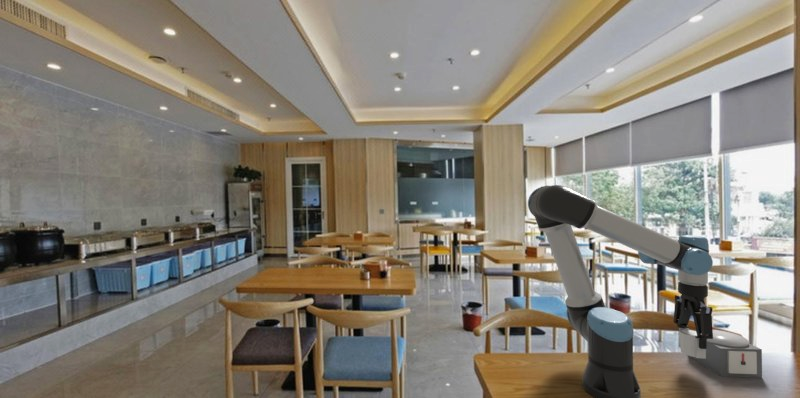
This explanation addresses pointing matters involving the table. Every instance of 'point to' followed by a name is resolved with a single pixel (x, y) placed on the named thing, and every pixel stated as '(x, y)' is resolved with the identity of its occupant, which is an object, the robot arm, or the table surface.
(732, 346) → the dial scale
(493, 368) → the table surface
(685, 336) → the shot glass
